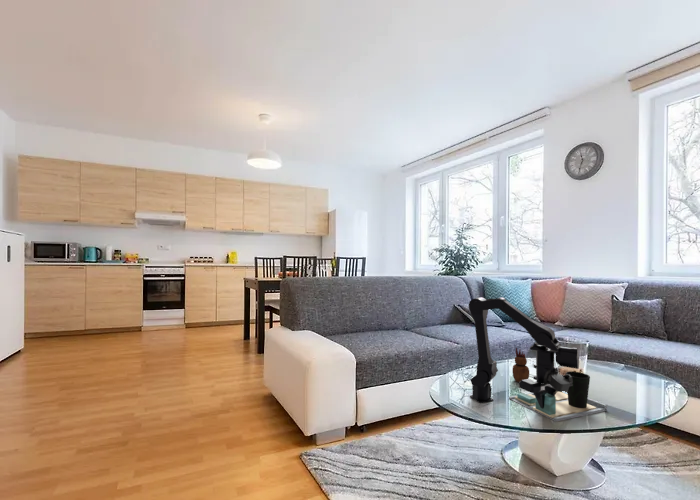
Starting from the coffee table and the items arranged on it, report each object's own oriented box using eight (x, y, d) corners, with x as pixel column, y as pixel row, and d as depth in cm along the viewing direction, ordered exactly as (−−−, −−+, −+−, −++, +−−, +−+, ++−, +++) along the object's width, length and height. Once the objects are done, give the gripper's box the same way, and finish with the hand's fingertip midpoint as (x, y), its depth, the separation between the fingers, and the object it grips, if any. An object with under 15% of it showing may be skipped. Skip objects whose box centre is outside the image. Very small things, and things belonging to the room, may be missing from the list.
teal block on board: (552, 418, 127) (552, 398, 127) (532, 408, 134) (532, 390, 134) (596, 409, 134) (596, 390, 134) (575, 400, 142) (575, 383, 142)
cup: (593, 412, 132) (593, 378, 132) (569, 410, 133) (570, 377, 133) (584, 404, 139) (584, 372, 139) (562, 402, 141) (562, 370, 141)
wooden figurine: (510, 381, 165) (510, 347, 165) (515, 378, 169) (515, 345, 169) (526, 385, 160) (526, 350, 160) (531, 382, 164) (531, 348, 164)
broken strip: (531, 406, 137) (531, 400, 137) (514, 398, 144) (514, 392, 144) (574, 398, 144) (574, 392, 144) (555, 391, 152) (555, 385, 152)
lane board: (555, 421, 125) (555, 415, 125) (509, 398, 145) (509, 393, 145) (606, 410, 134) (606, 405, 134) (556, 390, 154) (556, 385, 154)
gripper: (544, 373, 120) (544, 421, 120) (585, 367, 127) (585, 412, 127) (518, 363, 131) (518, 407, 131) (556, 358, 137) (557, 400, 137)
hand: (545, 407), depth 131 cm, fingers closed on teal block on board, 3 cm apart
